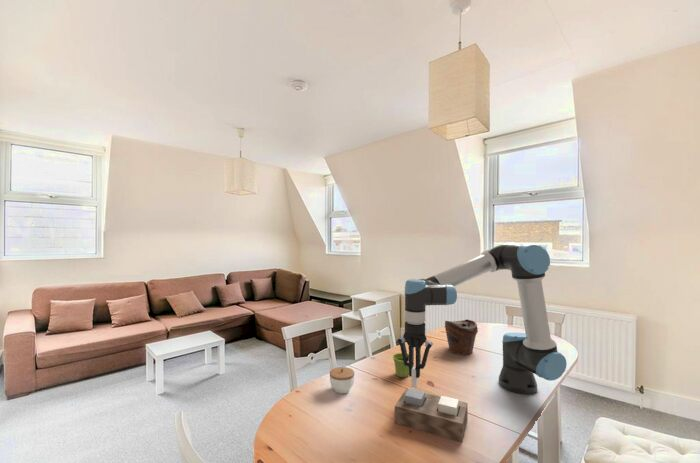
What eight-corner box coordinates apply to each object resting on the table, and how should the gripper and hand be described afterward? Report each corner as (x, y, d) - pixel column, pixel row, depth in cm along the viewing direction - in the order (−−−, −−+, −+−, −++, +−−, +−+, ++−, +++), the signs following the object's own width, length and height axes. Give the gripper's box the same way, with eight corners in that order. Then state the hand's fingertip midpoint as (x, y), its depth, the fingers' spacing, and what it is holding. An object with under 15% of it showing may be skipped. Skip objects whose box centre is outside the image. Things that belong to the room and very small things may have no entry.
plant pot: (412, 380, 143) (412, 361, 143) (391, 378, 145) (391, 359, 145) (412, 371, 152) (412, 353, 152) (393, 369, 154) (393, 352, 154)
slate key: (425, 402, 116) (425, 391, 116) (421, 410, 110) (421, 399, 110) (409, 398, 118) (409, 388, 118) (404, 406, 113) (404, 395, 113)
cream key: (458, 410, 110) (458, 399, 110) (456, 419, 105) (456, 407, 105) (441, 406, 113) (441, 395, 113) (438, 415, 108) (438, 403, 108)
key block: (467, 419, 113) (467, 402, 113) (462, 442, 100) (462, 423, 100) (406, 403, 123) (406, 388, 123) (394, 422, 111) (394, 405, 111)
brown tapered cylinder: (481, 348, 184) (480, 317, 184) (474, 359, 167) (473, 326, 167) (450, 342, 193) (449, 314, 193) (441, 353, 176) (440, 321, 177)
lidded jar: (357, 386, 137) (357, 365, 137) (349, 398, 127) (349, 375, 127) (335, 382, 141) (335, 361, 141) (325, 393, 131) (325, 371, 131)
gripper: (434, 321, 115) (434, 385, 115) (401, 317, 121) (400, 377, 121) (430, 326, 108) (429, 394, 108) (394, 321, 114) (394, 385, 114)
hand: (414, 385), depth 114 cm, fingers closed
